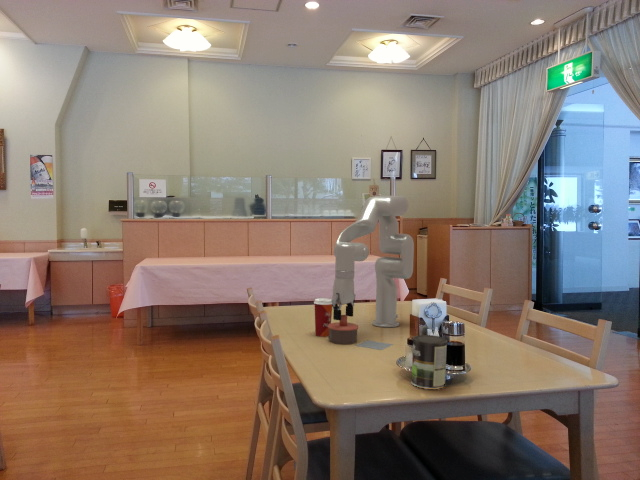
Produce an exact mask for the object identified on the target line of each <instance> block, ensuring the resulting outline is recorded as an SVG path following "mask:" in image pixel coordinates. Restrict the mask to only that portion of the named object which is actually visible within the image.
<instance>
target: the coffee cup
mask: <svg viewBox="0 0 640 480" xmlns="http://www.w3.org/2000/svg"><path fill="white" fill-rule="evenodd" d="M313 304H314V327H315V329H314V330H315V336H316V337H323V338H326V337H329V328H328V324H330V323H332V315H333V306H332V298H327V297H325V298H323V297H322V298H320V297H319V298H314V301H313Z"/></svg>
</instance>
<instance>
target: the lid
mask: <svg viewBox="0 0 640 480" xmlns="http://www.w3.org/2000/svg"><path fill="white" fill-rule="evenodd" d="M328 328H330V329H333V330H339V331H352V330H357V331H358V329H359V325H358V324H357V323H352V322H348V316H347V315H346V314H341V320H339V322H338V321H337V322H331V323H330V324H328Z"/></svg>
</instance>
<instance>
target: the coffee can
mask: <svg viewBox="0 0 640 480" xmlns="http://www.w3.org/2000/svg"><path fill="white" fill-rule="evenodd" d="M447 346H448V339H447V338H445V337H443V336H439V335H431V334H420V335H415V336H413V337H412V361H411V362H412V364H411V366H412V367H411V382H410V383H411V385H412V386H413V385H414V386H413V387H415V386H417V387H416V388H418V387H422V388H438V387H442V386H443V385H444V384H445V385H446V368H447V367H446V366H447Z"/></svg>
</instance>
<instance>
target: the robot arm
mask: <svg viewBox="0 0 640 480" xmlns="http://www.w3.org/2000/svg"><path fill="white" fill-rule="evenodd" d="M408 209H409V200H408V198H407V197H406V196H405V195H375V196H370V197H368V198H367V199H366V200H365V202H364V204H363V206H362V208H361V211H360V212H359V215H358V217H357V220H356V221H354V222H353V223H352V224H350V225H347V227H345V229H343V230H342V231H341V233H340V234H339V235H338V238H337V240H336V242H335V243H334V248H333V256H334V257H335V262H334V263H335V265H334V266H335V267H334V269H335V270H334V277H335V278H334V281H333V287H332V295H331V296H332V297H331V299H332V315H333V318H332V319H333V320H334V321H340V320H341V315H342V310H341V309H342V306H343V305H345V315H347V317H354V307H355V302H356V300H355V299H356V294H355V282H354V281H355V265H356V264H355V262H363V261H365V260H367V258H368V257H369V254H370V249H369V247H368V246H367V245H366V244H365V243H362V242H353V241H354V240H355V239H357V238H358V239H359V238H361V237H365V236H367V235H370V234H372V233H374V232H375V230H376V228H377V225H378V222H379V228H378V230H379V233H378V234H379V235H378V248H379V251H380V252H381V253H382V254H385V255H386V254H387V255H400V257H396V256H380V257H378V258H377V259H376V261H375V262H374V271H375V278H376V279H375V280H376V282H375V283H376V284H375V285H376V289H375V291H376V292H375V319H374V320H372V321H371V325H373V326H374V327H375V326H376V327H379V328H397V327H399V326H400V322H399V321H397V318H399V314H397V307H398V306H397V302H398V301H397V299H398V287H397V283H396V281H395V279H400V280H401V279H402V280H408V279H410V278H411V277H412V275H413V273H414V259H415V258H414V252H415V243H414V239H413V237H412V236H411V235H410V234H408V233H399V223H398V218H396V217H399V216H403V215H405V214H406V213H407V212H408Z"/></svg>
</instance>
